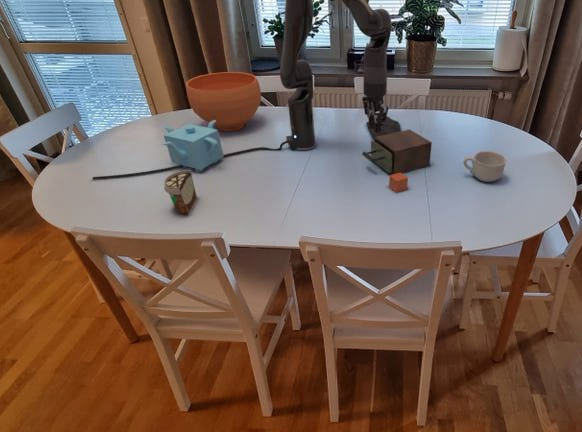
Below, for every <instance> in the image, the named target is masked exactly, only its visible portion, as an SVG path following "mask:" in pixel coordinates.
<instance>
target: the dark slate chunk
mask: <svg viewBox="0 0 582 432" xmlns="http://www.w3.org/2000/svg"><path fill="white" fill-rule="evenodd" d="M382 118H383V117H382ZM377 119H378V116H377ZM365 124H366V126H367V129H368V130H369V133H370V134H371V136H372V137H373V138H374V137H377V136H382V135H386V134H391V133H395V132H400V131H402V128H401V125H400V122H399V121H397V120H394V119H392V118H391V117H389V116H388V115H387V116H386V120H385V122H381V132H380V133H375V132H374V129H369V121H366V123H365Z"/></svg>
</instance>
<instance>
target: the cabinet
mask: <svg viewBox="0 0 582 432" xmlns="http://www.w3.org/2000/svg"><path fill="white" fill-rule="evenodd" d="M373 140H374V141H375V142H377V143H378V142H379V143H380V144H382V145H383V146H384V147H386V148H387V149H389V150H390V151H392V152H393V169H392V173H391V175H393V174H397V173H400V172H401V173H402V174H405V173H408V172H411V171H414V170H418V169H421V168H425V167H429V166H430V165H431V156H432V155H431V153H432V145H433V144H432V141H430V140H428V139H427V138H425V137H424V136H422V135H420V134H419V133H417V132H415V131H413V130H412V129H404V130H401V131H400V132H395V133H391V134H386V135H382V136H377V137H373Z"/></svg>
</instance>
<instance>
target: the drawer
mask: <svg viewBox="0 0 582 432" xmlns="http://www.w3.org/2000/svg"><path fill="white" fill-rule="evenodd" d="M361 155H362V156H363V157H364V158H366V159H367V160H368V161H369V162H371V164H374V163H375V164H376V165H378V166H379V167H380V168H381V169H382V170H384V171H385V172H387V173H388V174H392V169H393V152H392V151H390V150H389V149H387V148H386V147H384V146H383V145H382V144H380V143H379V142H378V143H377V142H375V141H374V139H373V140H371V141H370V151H367V152H366V151H362V153H361Z"/></svg>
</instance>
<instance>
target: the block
mask: <svg viewBox="0 0 582 432" xmlns="http://www.w3.org/2000/svg"><path fill="white" fill-rule="evenodd" d="M408 179H409V177H408V176H406V175H405V174H404V173H401V172H400V173H397V174H390V175H389V181H388V187H389V188H390V189H391V190H393V191H394V192H395V193H398V192H399V193H400V192H403V191H406V190H408Z"/></svg>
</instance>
